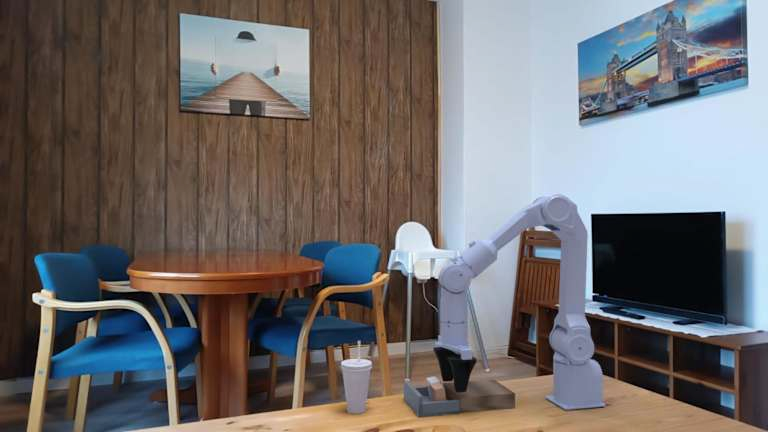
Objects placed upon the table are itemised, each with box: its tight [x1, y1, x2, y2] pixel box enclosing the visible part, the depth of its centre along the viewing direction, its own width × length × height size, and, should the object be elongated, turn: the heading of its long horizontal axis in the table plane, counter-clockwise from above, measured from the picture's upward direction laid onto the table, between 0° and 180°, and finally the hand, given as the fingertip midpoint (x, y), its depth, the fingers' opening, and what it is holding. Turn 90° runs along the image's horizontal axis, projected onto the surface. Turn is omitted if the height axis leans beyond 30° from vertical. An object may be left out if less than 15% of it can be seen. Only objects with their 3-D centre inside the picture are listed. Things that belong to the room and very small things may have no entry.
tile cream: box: [425, 376, 442, 399], centre depth 111 cm, size 4×4×2 cm
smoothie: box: [340, 340, 373, 415], centre depth 106 cm, size 6×6×14 cm
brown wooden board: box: [442, 379, 516, 414], centre depth 111 cm, size 12×10×3 cm
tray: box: [403, 379, 461, 418], centre depth 109 cm, size 8×11×4 cm
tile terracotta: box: [429, 382, 446, 402], centre depth 107 cm, size 4×4×2 cm
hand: (454, 386), depth 110 cm, fingers open, 7 cm apart
